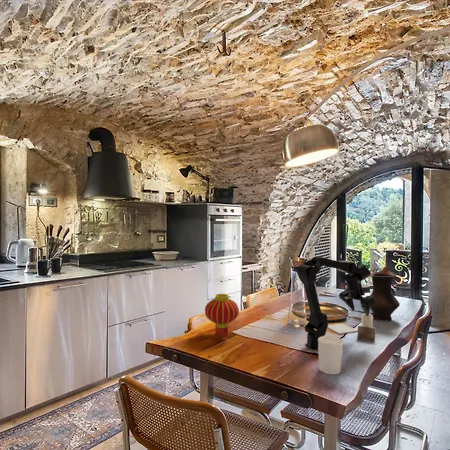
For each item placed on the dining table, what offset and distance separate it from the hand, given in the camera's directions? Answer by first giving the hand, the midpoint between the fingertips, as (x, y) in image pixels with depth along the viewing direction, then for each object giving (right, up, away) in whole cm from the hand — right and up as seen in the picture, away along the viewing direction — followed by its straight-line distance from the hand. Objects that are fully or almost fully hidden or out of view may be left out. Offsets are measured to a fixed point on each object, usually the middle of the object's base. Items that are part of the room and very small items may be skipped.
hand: (360, 313), depth 176 cm
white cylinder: (-26, -14, -35) cm, 46 cm away
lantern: (-69, -12, +2) cm, 70 cm away
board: (-5, -12, +13) cm, 19 cm away
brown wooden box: (+3, -13, 0) cm, 13 cm away
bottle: (+6, -13, +7) cm, 15 cm away
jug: (+26, -12, +33) cm, 44 cm away
